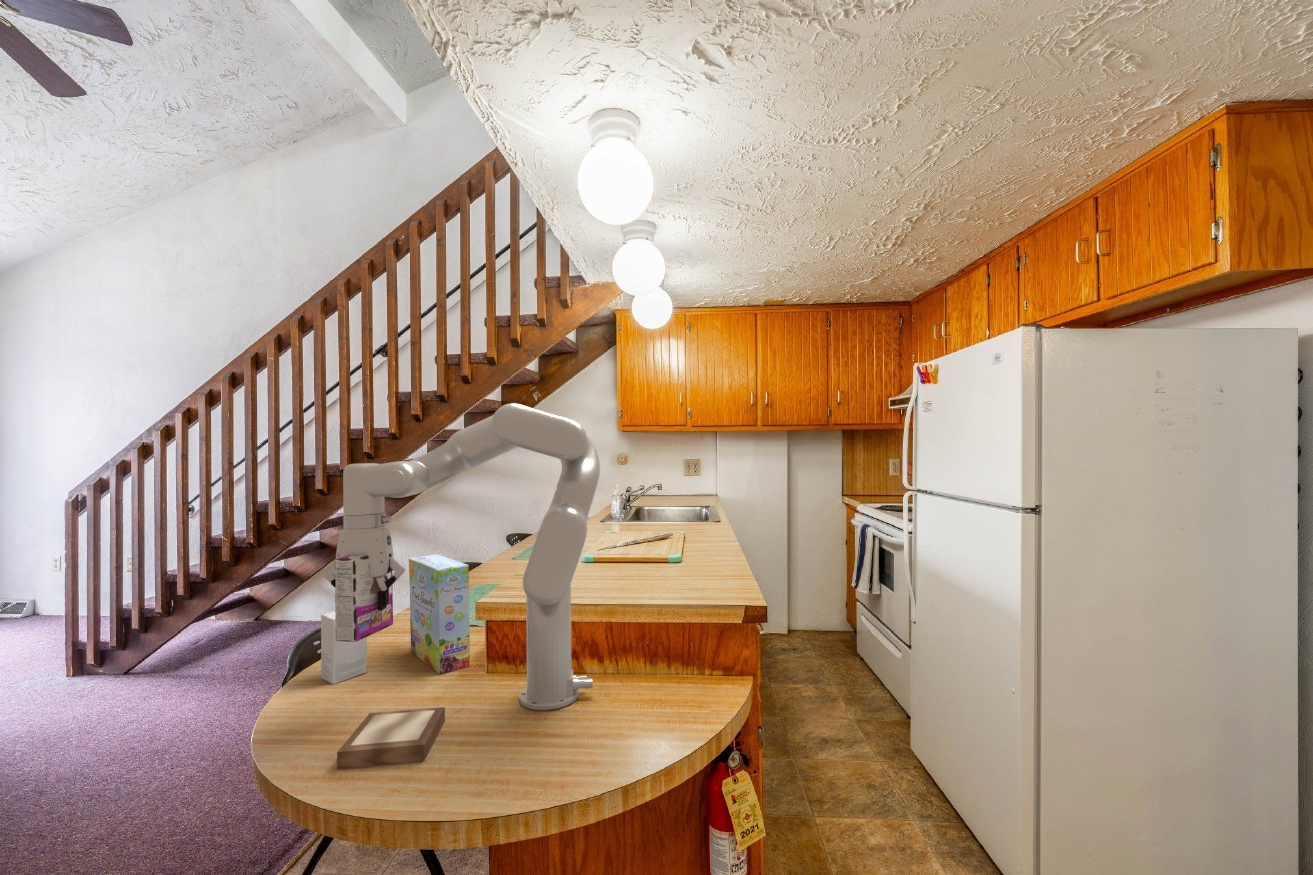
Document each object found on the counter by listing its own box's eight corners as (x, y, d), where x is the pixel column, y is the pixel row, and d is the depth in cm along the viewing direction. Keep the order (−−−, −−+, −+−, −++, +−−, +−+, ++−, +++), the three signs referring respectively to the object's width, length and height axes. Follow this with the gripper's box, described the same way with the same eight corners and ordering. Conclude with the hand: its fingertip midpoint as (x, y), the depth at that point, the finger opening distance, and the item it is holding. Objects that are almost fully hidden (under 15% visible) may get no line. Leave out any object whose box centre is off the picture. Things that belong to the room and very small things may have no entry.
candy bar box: (373, 624, 116) (373, 548, 117) (393, 625, 115) (393, 548, 116) (332, 641, 105) (333, 557, 106) (355, 642, 104) (355, 558, 105)
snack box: (406, 653, 144) (406, 557, 145) (439, 645, 150) (439, 552, 151) (437, 676, 128) (436, 568, 129) (472, 666, 134) (471, 563, 135)
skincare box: (355, 667, 134) (356, 605, 135) (368, 673, 130) (369, 609, 131) (319, 679, 128) (319, 613, 128) (331, 685, 124) (332, 617, 124)
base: (444, 721, 106) (444, 705, 106) (424, 760, 92) (424, 743, 92) (369, 727, 104) (369, 711, 104) (337, 768, 90) (337, 750, 90)
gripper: (413, 518, 116) (414, 602, 115) (328, 522, 113) (328, 607, 113) (402, 522, 108) (402, 612, 108) (310, 526, 106) (310, 618, 105)
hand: (365, 609), depth 110 cm, fingers closed on candy bar box, 6 cm apart
